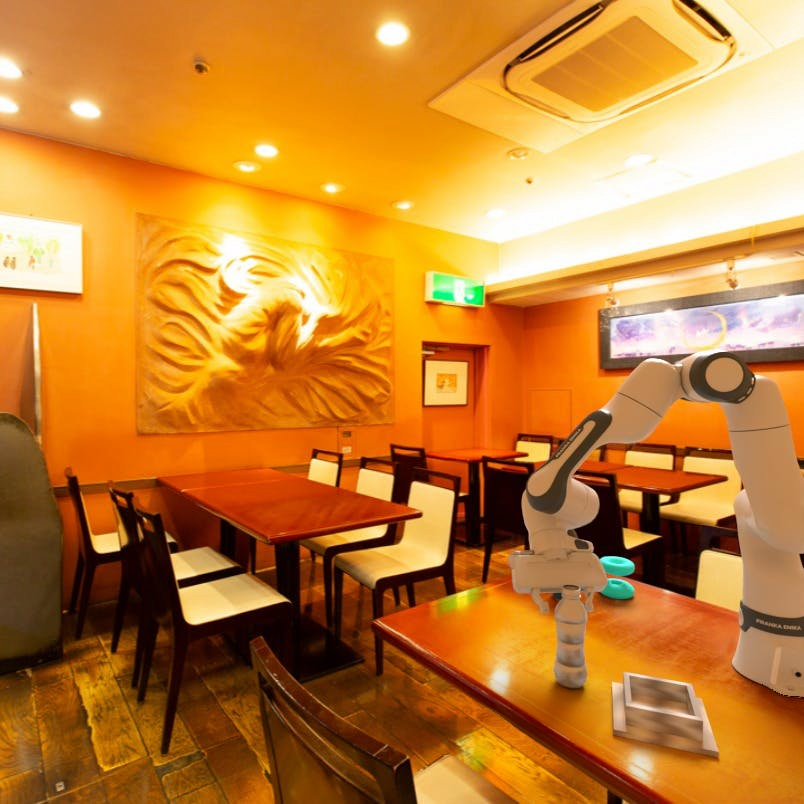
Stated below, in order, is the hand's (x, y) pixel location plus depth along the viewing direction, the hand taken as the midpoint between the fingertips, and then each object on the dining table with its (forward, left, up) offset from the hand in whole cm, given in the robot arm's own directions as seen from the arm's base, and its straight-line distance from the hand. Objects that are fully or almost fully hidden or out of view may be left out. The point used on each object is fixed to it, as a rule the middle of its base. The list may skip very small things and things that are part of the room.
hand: (567, 611), depth 110 cm
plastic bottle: (-1, +2, -14) cm, 15 cm away
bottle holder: (-17, +8, -14) cm, 23 cm away
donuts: (-11, -53, -15) cm, 56 cm away
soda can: (+3, -44, -14) cm, 47 cm away
